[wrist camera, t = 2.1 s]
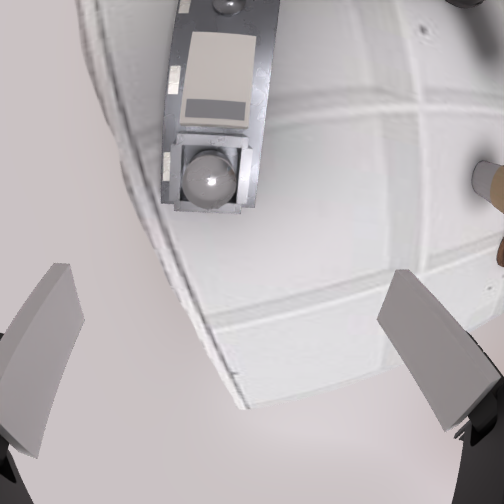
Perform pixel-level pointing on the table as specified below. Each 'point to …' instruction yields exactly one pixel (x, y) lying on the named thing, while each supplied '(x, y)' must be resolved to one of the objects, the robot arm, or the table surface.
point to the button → (209, 180)
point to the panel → (215, 138)
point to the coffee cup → (490, 183)
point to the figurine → (501, 254)
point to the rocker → (218, 80)
